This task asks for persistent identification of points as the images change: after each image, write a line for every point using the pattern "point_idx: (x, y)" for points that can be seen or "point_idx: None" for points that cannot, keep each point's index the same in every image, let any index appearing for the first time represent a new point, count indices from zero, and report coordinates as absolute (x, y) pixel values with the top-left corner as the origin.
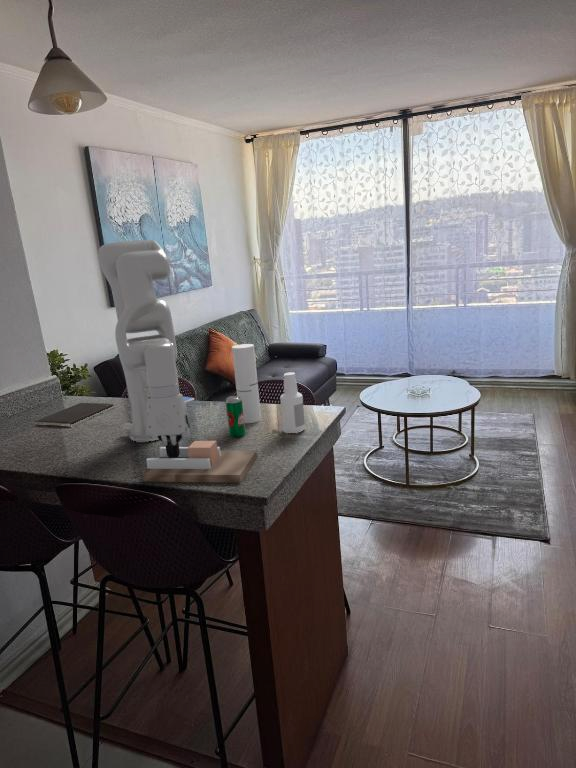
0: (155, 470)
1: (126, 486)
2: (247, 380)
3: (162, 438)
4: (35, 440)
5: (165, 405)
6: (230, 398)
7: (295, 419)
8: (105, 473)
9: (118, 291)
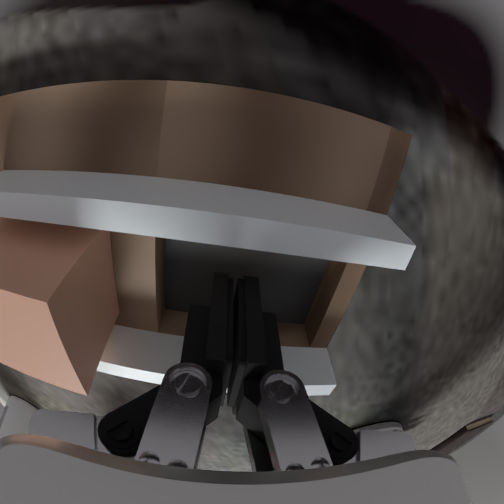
0: (335, 174)
1: (448, 93)
2: None
3: (312, 433)
4: None
5: None
6: None
7: (2, 419)
8: (500, 255)
9: None
